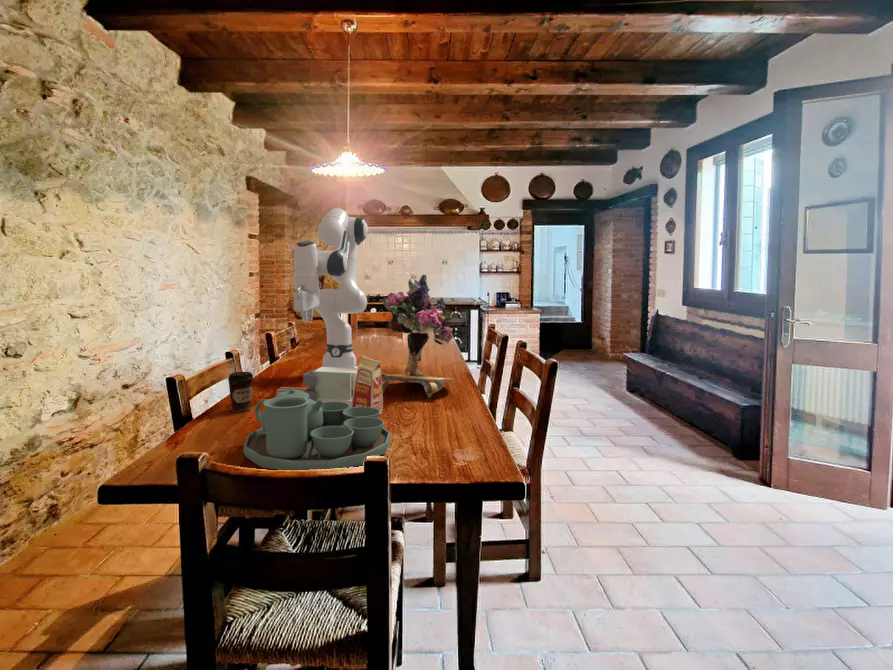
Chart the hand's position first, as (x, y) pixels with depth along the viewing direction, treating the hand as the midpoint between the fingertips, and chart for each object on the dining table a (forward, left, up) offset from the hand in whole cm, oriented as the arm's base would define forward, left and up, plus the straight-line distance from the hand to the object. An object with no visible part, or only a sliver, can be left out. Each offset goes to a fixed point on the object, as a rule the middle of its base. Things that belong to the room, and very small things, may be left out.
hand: (307, 321), depth 214 cm
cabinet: (+7, +12, -29) cm, 32 cm away
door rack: (+5, -5, -29) cm, 30 cm away
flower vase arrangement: (-14, +40, -29) cm, 52 cm away
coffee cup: (+26, -15, -29) cm, 41 cm away
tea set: (+59, +23, -29) cm, 70 cm away
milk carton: (+23, +29, -29) cm, 47 cm away
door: (+13, +12, -27) cm, 32 cm away
